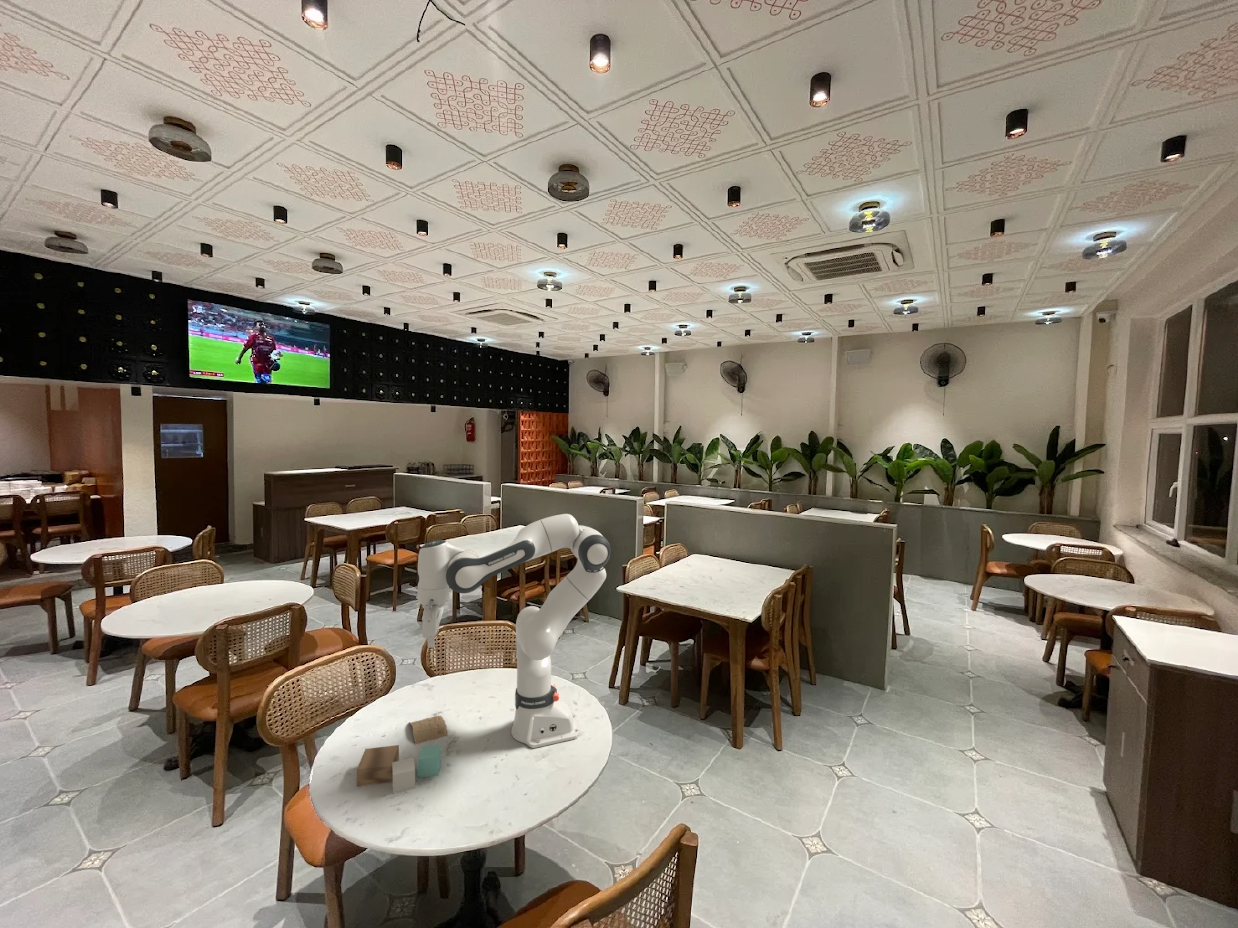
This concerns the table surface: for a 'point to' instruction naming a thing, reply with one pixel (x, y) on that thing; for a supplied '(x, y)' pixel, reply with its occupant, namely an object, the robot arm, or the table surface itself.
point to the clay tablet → (429, 729)
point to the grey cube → (403, 775)
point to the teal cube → (429, 761)
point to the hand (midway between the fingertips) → (433, 639)
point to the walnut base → (377, 765)
